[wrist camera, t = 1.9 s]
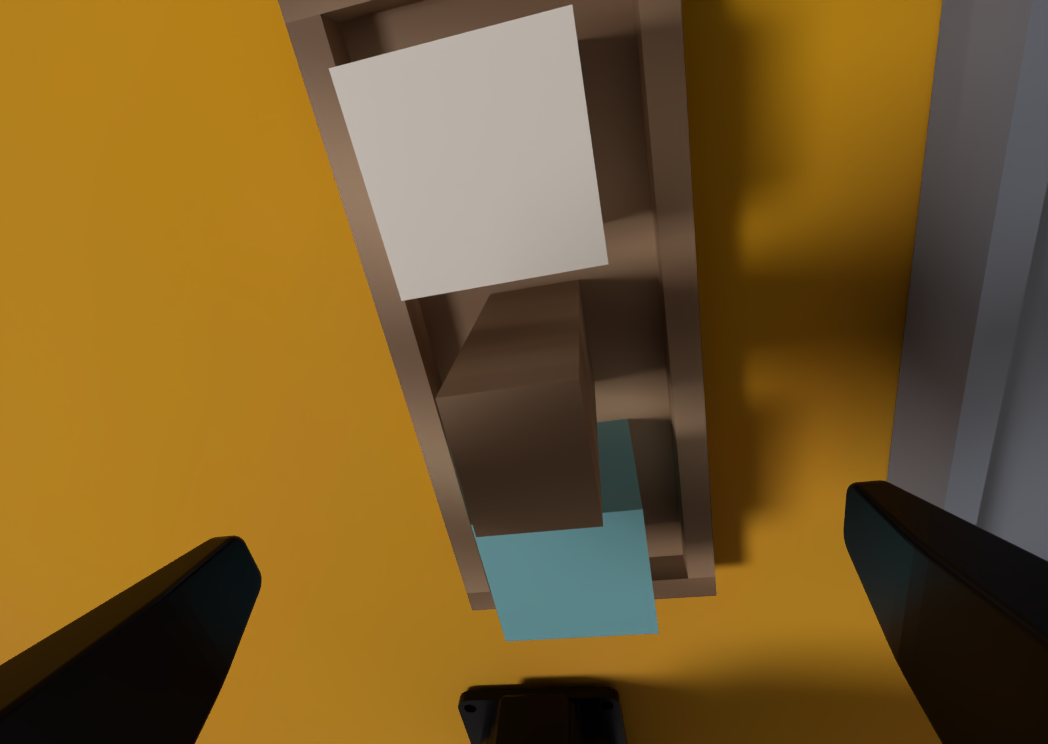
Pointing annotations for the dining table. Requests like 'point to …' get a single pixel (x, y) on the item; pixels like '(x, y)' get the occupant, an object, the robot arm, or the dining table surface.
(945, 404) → the tray
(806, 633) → the dining table surface
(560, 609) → the teal block
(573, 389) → the caddy
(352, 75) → the cream block
